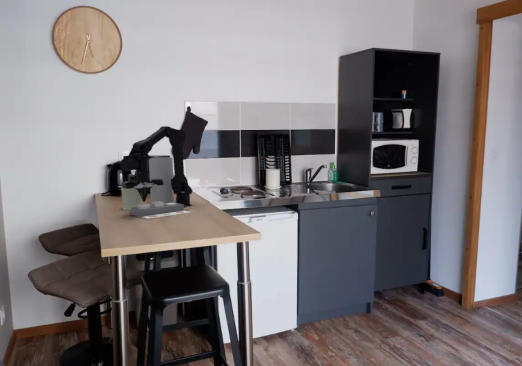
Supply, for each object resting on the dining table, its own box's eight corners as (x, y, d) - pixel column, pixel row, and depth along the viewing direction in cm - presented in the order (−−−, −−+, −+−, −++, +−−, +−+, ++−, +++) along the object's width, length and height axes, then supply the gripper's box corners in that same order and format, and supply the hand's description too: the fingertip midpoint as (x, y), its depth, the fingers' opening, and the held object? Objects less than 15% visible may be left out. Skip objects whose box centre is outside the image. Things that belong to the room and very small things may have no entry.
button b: (172, 207, 222) (172, 202, 222) (176, 208, 219) (176, 203, 218) (164, 208, 219) (164, 203, 219) (168, 209, 216) (168, 204, 216)
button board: (174, 208, 226) (174, 202, 226) (183, 210, 218) (183, 204, 218) (131, 214, 212) (130, 207, 211) (139, 217, 204) (139, 210, 203)
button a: (146, 207, 213) (146, 202, 213) (150, 208, 210) (150, 203, 210) (137, 208, 211) (137, 203, 210) (141, 210, 207) (141, 205, 207)
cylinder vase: (171, 205, 235) (169, 158, 232) (148, 205, 235) (145, 158, 232) (176, 201, 247) (174, 156, 244) (154, 201, 248) (152, 157, 245)
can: (133, 210, 221) (132, 186, 220) (118, 209, 224) (117, 186, 223) (144, 207, 230) (143, 184, 229) (129, 206, 233) (128, 184, 232)
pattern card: (184, 211, 217) (184, 210, 217) (190, 212, 212) (190, 211, 212) (142, 217, 203) (142, 216, 203) (147, 219, 198) (147, 218, 198)
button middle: (159, 206, 218) (159, 201, 217) (163, 207, 214) (163, 202, 214) (151, 207, 215) (151, 202, 215) (155, 208, 211) (155, 203, 211)
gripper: (153, 166, 220) (154, 197, 222) (116, 169, 208) (118, 202, 210) (163, 167, 211) (164, 200, 213) (125, 170, 200) (127, 204, 202)
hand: (143, 201), depth 210 cm, fingers closed
